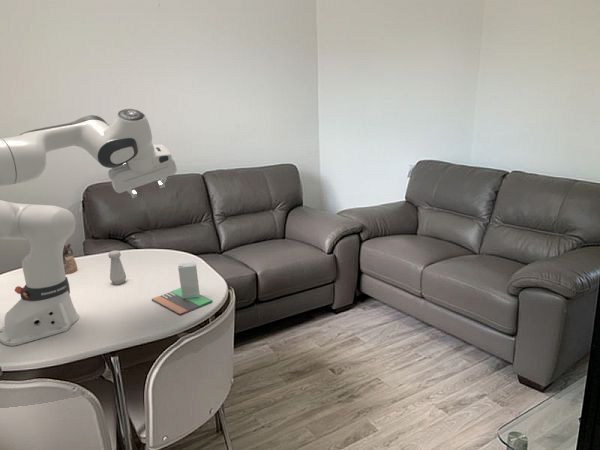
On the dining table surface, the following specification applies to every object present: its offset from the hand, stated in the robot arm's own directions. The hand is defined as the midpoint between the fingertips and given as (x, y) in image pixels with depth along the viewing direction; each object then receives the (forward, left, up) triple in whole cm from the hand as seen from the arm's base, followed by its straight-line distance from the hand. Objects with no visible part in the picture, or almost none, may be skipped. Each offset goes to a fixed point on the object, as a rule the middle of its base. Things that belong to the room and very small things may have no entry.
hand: (148, 191), depth 147 cm
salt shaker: (-2, +28, -40) cm, 49 cm away
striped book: (+4, -6, -39) cm, 40 cm away
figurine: (-10, +57, -40) cm, 70 cm away
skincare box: (+8, -6, -39) cm, 40 cm away
